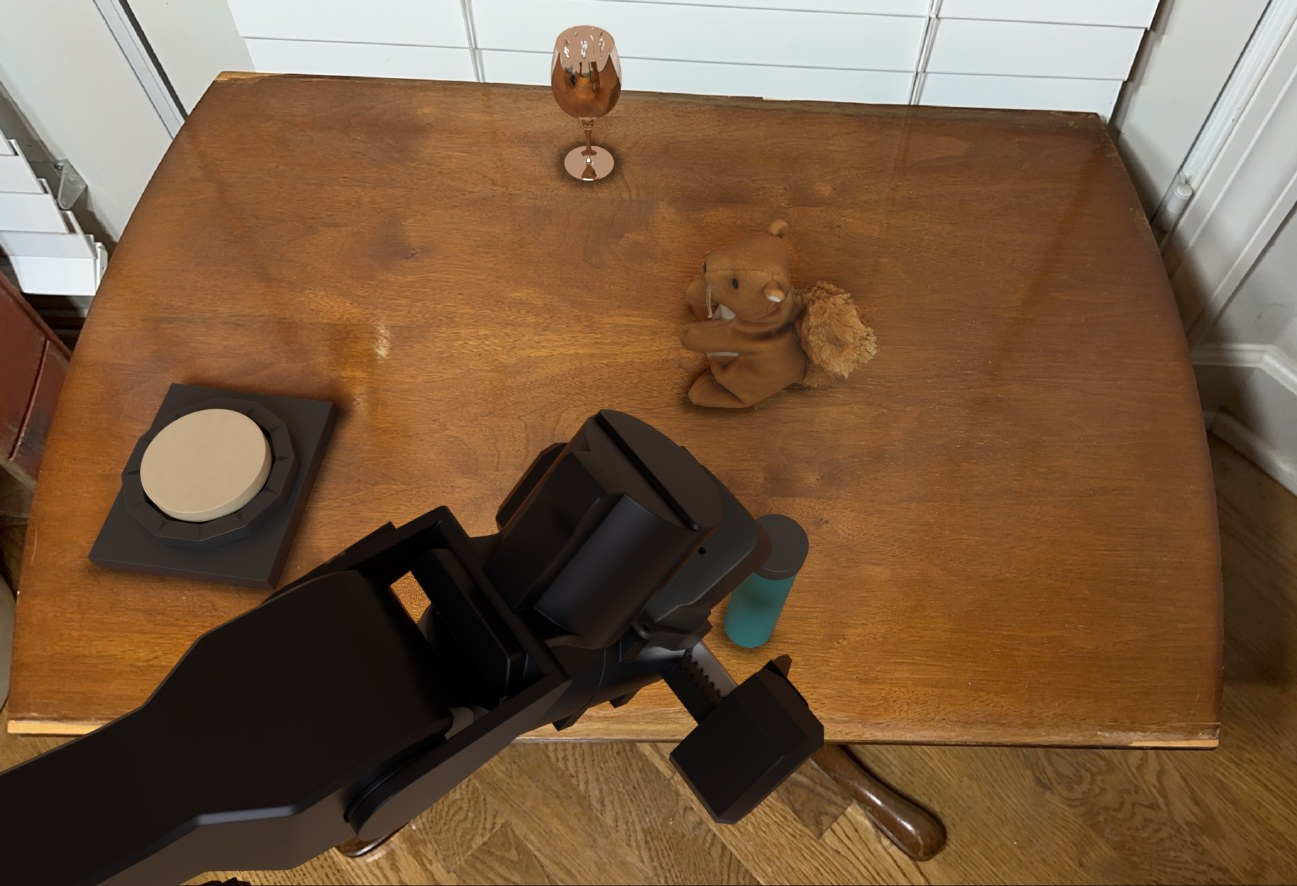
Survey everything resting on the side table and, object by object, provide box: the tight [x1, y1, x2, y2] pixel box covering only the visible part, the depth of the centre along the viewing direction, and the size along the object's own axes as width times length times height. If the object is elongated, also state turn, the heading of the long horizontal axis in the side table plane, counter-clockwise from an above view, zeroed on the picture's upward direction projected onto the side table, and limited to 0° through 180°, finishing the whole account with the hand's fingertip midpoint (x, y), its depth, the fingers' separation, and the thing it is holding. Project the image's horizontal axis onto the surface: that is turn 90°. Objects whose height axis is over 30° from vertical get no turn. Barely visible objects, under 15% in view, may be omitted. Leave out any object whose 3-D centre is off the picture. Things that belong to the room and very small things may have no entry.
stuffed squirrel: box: [679, 218, 878, 409], centre depth 65 cm, size 10×14×13 cm
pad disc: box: [140, 409, 272, 522], centre depth 61 cm, size 8×8×1 cm
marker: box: [723, 513, 810, 649], centre depth 54 cm, size 3×3×14 cm
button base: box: [87, 382, 339, 591], centre depth 63 cm, size 14×12×3 cm
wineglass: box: [550, 24, 623, 182], centre depth 77 cm, size 6×6×12 cm
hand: (728, 596), depth 50 cm, fingers open, 9 cm apart
